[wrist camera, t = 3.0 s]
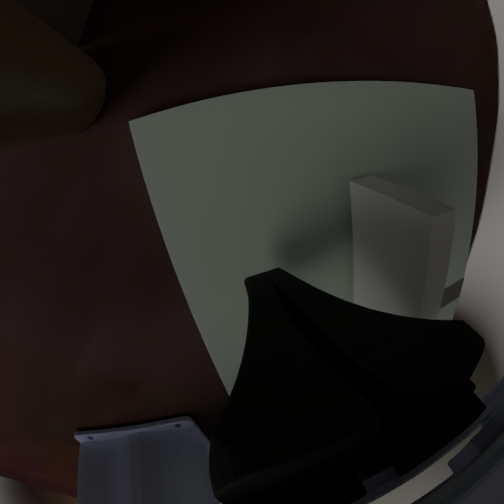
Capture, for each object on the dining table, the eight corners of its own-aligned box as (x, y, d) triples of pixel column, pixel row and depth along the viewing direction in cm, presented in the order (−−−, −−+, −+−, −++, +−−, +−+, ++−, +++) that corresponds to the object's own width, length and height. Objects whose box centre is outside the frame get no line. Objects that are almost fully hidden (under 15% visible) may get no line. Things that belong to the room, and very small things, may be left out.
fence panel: (369, 333, 15) (414, 386, 11) (352, 341, 15) (395, 398, 11) (372, 175, 11) (455, 208, 7) (349, 181, 11) (432, 217, 7)
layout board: (252, 437, 19) (255, 445, 18) (132, 122, 9) (128, 121, 8) (434, 351, 22) (440, 356, 21) (463, 89, 11) (474, 90, 11)
